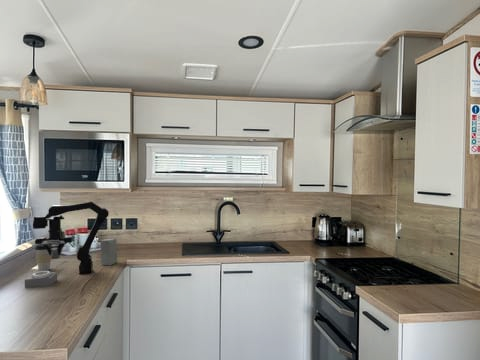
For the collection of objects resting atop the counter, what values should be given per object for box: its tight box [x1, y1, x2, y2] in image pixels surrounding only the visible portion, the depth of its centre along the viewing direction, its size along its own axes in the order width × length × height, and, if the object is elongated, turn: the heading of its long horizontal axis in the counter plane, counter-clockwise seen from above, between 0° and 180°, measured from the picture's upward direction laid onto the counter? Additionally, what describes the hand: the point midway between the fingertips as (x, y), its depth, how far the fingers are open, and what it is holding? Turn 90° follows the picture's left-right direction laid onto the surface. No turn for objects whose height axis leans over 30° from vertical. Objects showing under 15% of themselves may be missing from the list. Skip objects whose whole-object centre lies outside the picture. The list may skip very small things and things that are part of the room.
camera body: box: [24, 270, 58, 288], centre depth 167 cm, size 12×9×6 cm
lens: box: [51, 244, 61, 260], centre depth 179 cm, size 5×5×7 cm
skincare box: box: [100, 238, 118, 266], centre depth 204 cm, size 8×7×16 cm
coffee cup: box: [34, 243, 52, 272], centre depth 192 cm, size 9×9×15 cm
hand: (55, 255), depth 179 cm, fingers closed on lens, 4 cm apart
